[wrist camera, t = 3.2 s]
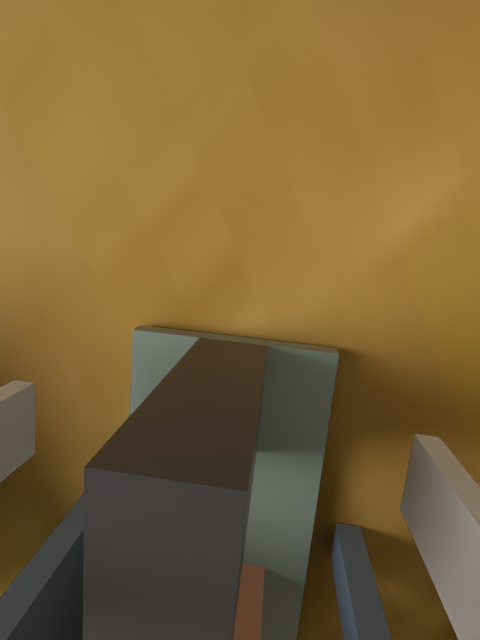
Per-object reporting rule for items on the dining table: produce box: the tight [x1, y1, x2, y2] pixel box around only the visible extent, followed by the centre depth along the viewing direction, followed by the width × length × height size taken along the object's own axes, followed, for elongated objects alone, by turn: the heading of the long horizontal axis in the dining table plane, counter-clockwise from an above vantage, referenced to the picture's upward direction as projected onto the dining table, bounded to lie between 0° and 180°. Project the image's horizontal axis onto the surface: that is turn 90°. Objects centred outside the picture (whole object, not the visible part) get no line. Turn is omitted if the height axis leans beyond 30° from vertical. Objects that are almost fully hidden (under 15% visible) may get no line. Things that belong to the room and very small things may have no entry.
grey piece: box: [83, 325, 339, 640], centre depth 14 cm, size 20×9×11 cm, turn 175°
